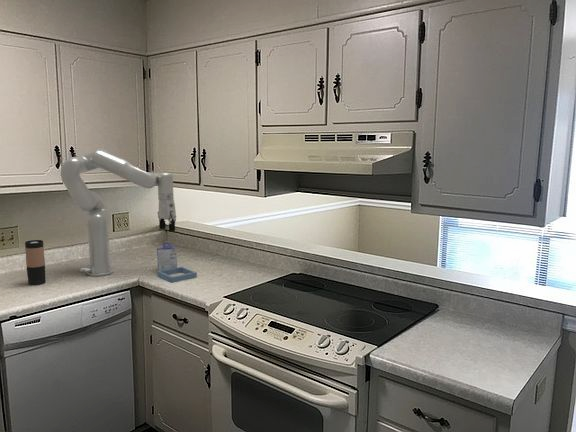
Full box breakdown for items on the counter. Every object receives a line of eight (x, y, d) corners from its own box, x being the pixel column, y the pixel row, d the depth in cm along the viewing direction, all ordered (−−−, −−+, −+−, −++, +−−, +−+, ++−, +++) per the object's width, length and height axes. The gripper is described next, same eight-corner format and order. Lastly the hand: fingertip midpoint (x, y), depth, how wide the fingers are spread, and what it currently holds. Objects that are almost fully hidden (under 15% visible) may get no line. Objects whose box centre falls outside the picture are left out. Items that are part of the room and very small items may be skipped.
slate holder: (171, 282, 223) (171, 277, 223) (157, 276, 234) (157, 271, 233) (196, 277, 233) (196, 272, 233) (182, 271, 243) (182, 266, 243)
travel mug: (26, 282, 220) (23, 241, 217) (44, 279, 225) (41, 239, 222) (29, 286, 214) (26, 244, 211) (48, 283, 219) (45, 241, 216)
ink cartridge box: (176, 268, 248) (175, 241, 246) (178, 271, 243) (177, 244, 241) (157, 270, 245) (156, 243, 242) (158, 273, 240) (157, 245, 237)
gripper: (181, 197, 234) (182, 231, 237) (164, 195, 247) (165, 226, 249) (167, 199, 229) (169, 233, 232) (151, 196, 242) (152, 228, 244)
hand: (167, 229), depth 241 cm, fingers open, 9 cm apart
